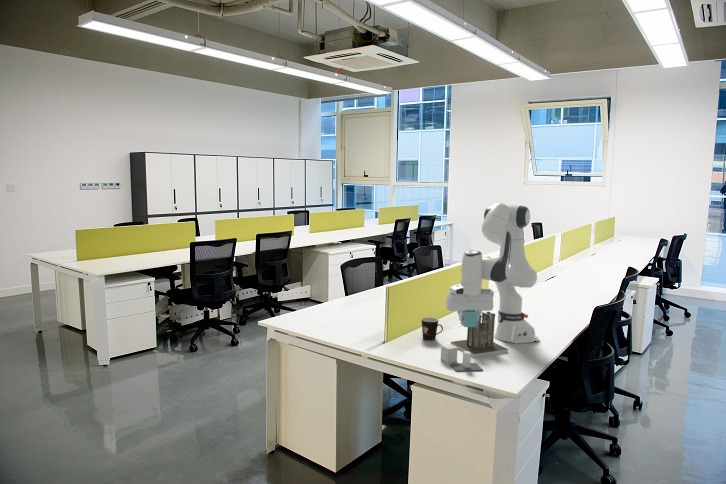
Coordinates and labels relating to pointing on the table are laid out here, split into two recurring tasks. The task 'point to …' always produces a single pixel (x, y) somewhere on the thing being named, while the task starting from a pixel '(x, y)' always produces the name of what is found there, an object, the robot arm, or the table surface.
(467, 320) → the teal block
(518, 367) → the table surface
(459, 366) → the stand
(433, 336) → the coffee mug
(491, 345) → the building model
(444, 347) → the light grey block
